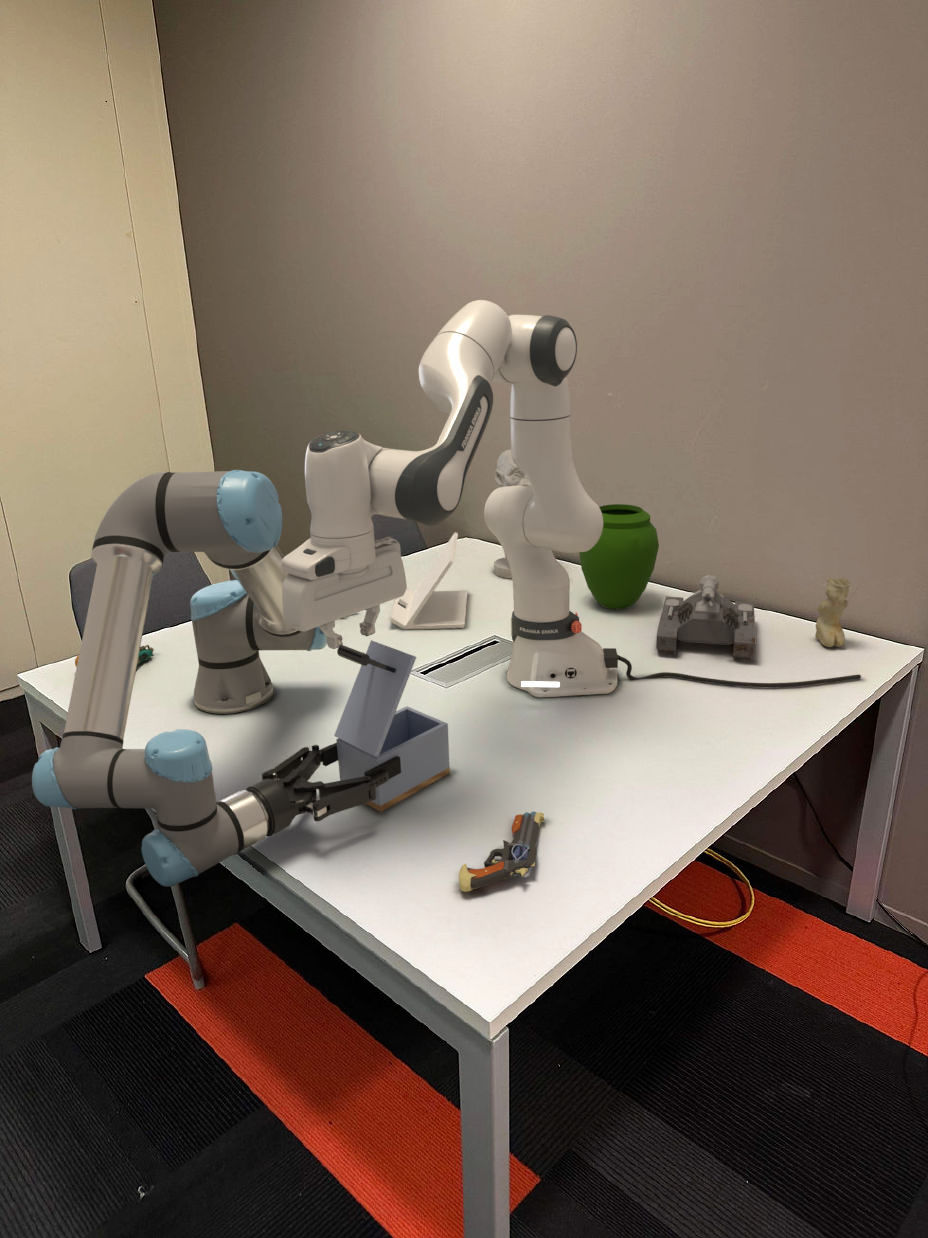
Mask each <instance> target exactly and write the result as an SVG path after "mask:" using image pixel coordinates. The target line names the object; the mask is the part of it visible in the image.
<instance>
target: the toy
mask: <svg viewBox="0 0 928 1238" xmlns="http://www.w3.org/2000/svg"><path fill="white" fill-rule="evenodd" d="M719 586H720V581H719V579H718V578H717V576H715V575H713V574H706V575H704V576H703V577H702V578H700V580H699V588H700V589H699V590H697V591H695V592H693V593H692V595H690V596H689V597H688V598H686V599H684V597H680V596H679V597H678V596H665V598H664V602H663V606H662V610H661V614H660V618H659V623H658V627H657V631H656V643H655V644H656V645H655V648H656V650H657V653H661V654H673V655H674V654H676V652H677V646H678V641H681V642H684V643H695V644H707V645H718V646H719V645H720V646H721V645H722V646H729V645H732V658H736V659H747V660H752V658H754V655H755V649H756V619H755V602H754V601H753V602H751V601H739V600H738V601H737V600H735V601H734V602H733V601H732V600H730V599H729V598H728V597H727V596H726V595H725V594H724V593H721V592H720V591H719V590H718V589H719Z"/></svg>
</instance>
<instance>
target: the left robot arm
mask: <svg viewBox="0 0 928 1238" xmlns="http://www.w3.org/2000/svg"><path fill="white" fill-rule="evenodd" d="M279 500H280V496H279V494H278V491H277V488H276V487H275V485H274V483H273V482H272V481H271V480H270V479H269V477H268V476H266V475H265V474H263V473H261V472H258V471H249V470H248V471H246V470H242V469H233V470H221V471H178V472H175V471H174V472H171V471H162V472H155V473H151V474H147V475H145V476H143V477H141V478H139V479H137V480H136V481H134V482H133V483H131V484H130V485H129V486H128V487H126V489H124V490H123V491H122V492H121V493H120V494H119V495H118V496H117V498H116V499H114V501H113V502H112V504H111V505H110V506H109V507H108V508H107V511H106V512H105V514H104V516H103V518H102V519H101V521H100V523H99V526H98V528H97V530H96V533H95V535H94V539H93V544H92V548H91V554H90V556H91V559H92V560H93V562H94V563H95V565H96V569H95V574H94V578H93V585H92V589H91V594H90V599H89V603H88V609H87V614H86V619H85V623H84V628H83V629H84V630H83V634H82V638H81V644H80V648H79V649H80V650H79V653H78V655H79V659H78V664H77V667H76V669H75V674H74V678H73V684H72V689H71V695H70V700H69V703H68V704H69V705H68V708H67V715H66V719H65V723H64V730H63V734H62V737H61V742H60V745H59V746H60V747H54V748H48V749H47V750H44V751H43V752H42V753H41V754H40V755H39V756H38V759H37V762H35V764H34V766H33V769H32V773H31V786H32V791H33V794H34V797H35V798H36V800H37V801H38V802H39V803H41V804H42V805H44V807H50V808H51V807H52V808H67V809H71V810H79V809H152V810H154V811H155V815H156V820H157V828H155V829H154V830H152V831H151V832H150V833H148V834H146V835H145V836H144V837H143V838H142V841H141V848H140V849H141V854H142V858H143V862H144V864H145V867H146V868H147V871H148V872H149V875H150V876H151V877H152V878H153V879H154V881H156V882H157V883H158V884H159V885H161V886H163V887H167V888H169V887H173V886H174V887H175V886H176V885H178V884H180V883H181V884H182V883H183V882H184V881H187V880H189V879H191V878H196V877H198V876H199V875H201V874H202V873H205V871H207V870H209V869H211V868H212V867H214V866H216V865H217V864H219V863H221V862H224V861H225V860H227V859H228V858H230V857H231V856H233V855H234V856H235V855H237V854H238V853H241V852H242V851H244V850H247V848H251V846H254V845H255V844H258V843H259V842H261V841H263V840H265V839H266V838H267V837H272V836H273V835H276V834H277V833H279V832H281V831H283V830H285V829H287V828H288V827H290V826H291V824H292V822H293V821H294V819H295V818H296V817H297V816H299V815H304V814H307V813H309V814H311V815H312V816H313V820H314V822H321V821H322V820H324V819H327V818H328V817H329V816H331V815H334V814H337V813H340V812H343V811H347V810H349V809H352V808H355V807H358V806H362V805H364V804H365V803H367V802H370V801H373V800H375V799H376V787H378V786H380V785H382V784H384V783H385V782H387V781H388V780H389V779H390V778H392V777H394V776H396V775H398V774H400V773H401V762H400V757H399V756H396V757H394V758H392V759H390V760H388V761H386V762H384V763H382V764H380V765H378V766H376V767H374V768H372V769H370V770H368V771H366V772H364V775H365V776H363V777H358V778H352V779H347V780H341V781H340V780H335V781H331V782H326V783H324V782H323V781H321V780H319V781H315V782H312V781H309V780H310V779H311V777H313V775H314V774H315V773H316V772H317V770H318V769H319V768H320V767H321V765H322V766H324V767H327V766H330V765H332V764H334V763H336V762H338V752H337V742H334V743H332V744H329V745H327V746H325V747H323V748H320V746H319V744H313V745H311V750H310V747H308V746H304V747H302V748H300V749H299V750H297V751H296V752H295V753H293V754H292V755H290V756H289V757H288V758H286V759H285V760H283V761H282V762H280V763H278V765H276V766H275V767H273V768H271V769H269V770H266V771H264V772H262V773H261V779H262V780H260V781H259V782H256V783H254V784H252V785H250V786H248V787H246V788H245V789H240V790H238V791H236V792H234V793H232V794H230V795H228V796H226V797H224V798H222V799H220V800H218V801H217V797H216V790H215V784H214V783H215V782H214V776H213V775H214V774H213V763H212V761H211V758H210V754H209V750H208V745H207V741H206V739H205V737H204V736H203V735H202V734H201V733H199V732H198V731H195V730H192V729H187V728H186V729H185V728H181V729H180V728H178V729H175V730H173V731H172V730H171V731H163V732H161V733H159V734H157V735H154V736H153V737H151V738H150V740H149V741H147V743H146V745H145V748H123V747H124V739H125V734H126V727H127V723H128V717H129V711H130V707H131V706H130V705H131V700H132V695H133V689H134V684H135V678H136V672H137V666H138V665H137V662H138V657H139V651H140V647H141V646H142V645H141V644H142V640H143V633H144V628H145V623H146V617H147V611H148V607H149V601H150V595H151V591H152V584H153V579H154V578H153V577H154V575H156V574H158V573H159V572H161V570H162V569H163V565H164V559H165V557H166V555H167V554H169V553H204V554H205V555H206V557H207V558H208V559H209V560H210V562H211V563H213V564H214V565H215V566H217V567H220V568H222V569H225V570H229V571H230V572H231V574H232V576H233V577H234V578H235V579H233V580H231V579H230V580H226V581H221V582H220V581H219V582H217V583H214V584H210V585H207V586H205V587H203V588H201V589H199V590H198V591H196V592H195V593H194V594H193V595H192V597H191V598H190V603H189V605H190V606H189V607H190V620H191V625H192V631H193V637H194V644H195V649H196V655H197V662H198V669H197V673H196V679H195V683H194V684H195V685H194V688H193V689H194V690H193V700H194V705H195V706H196V708H197V709H199V710H200V711H203V712H206V713H210V714H217V715H225V714H237V713H242V712H247V711H249V710H253V709H255V708H258V707H260V706H262V705H264V704H265V703H267V702H268V701H270V699H271V698H272V697H273V695H274V685H273V682H272V679H271V677H270V675H269V673H268V671H267V669H266V667H265V665H264V663H263V661H262V658H261V657H260V651H306V652H311V651H319V650H323V649H324V648H326V646H328V645H327V636H326V635H325V634H324V633H323V632H322V630H321V629H320V628H319V626H318V627H316V628H313V629H310V630H307V631H304V632H302V631H299V630H296V629H294V628H291V627H290V626H289V625H288V624H287V623H286V622H285V620H284V614H283V604H282V585H283V581H284V579H285V577H286V576H287V575H288V574H289V573H287V572H285V571H283V569H282V559H283V558H284V557H285V555H284V554H283V552H282V551H281V549H280V547H279V545H278V544H279V542H280V540H281V535H282V531H283V511H282V505H281V504H280V502H279ZM317 790H318V793H317Z"/></svg>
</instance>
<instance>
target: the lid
mask: <svg viewBox="0 0 928 1238" xmlns="http://www.w3.org/2000/svg"><path fill="white" fill-rule="evenodd" d="M337 656H339V657H341V658H343V659H345V660H347V661H351V662H353V663H355V664H358V665H360V667H359V671H358V673H357V675H356V678H355V680H354V682H353V683H354V684H353V686H352V688H351V690H350V693H349V696H348V699H347V701H346V704H345V707H344V709H343V711H342V714H341V717H340V720H339V722H338V725H337V726H336V729H335V732H334V737H335V738H336V739H338V738H339V739H341V740H343V741H345V742H347V743H349V744H351V745H353V746H355V747H357V748H359V749H361V750H363V751H365V752H367V753H369V754H371V755H373V756H376V757H379V754H380V751H381V749H382V746H383V744H384V741H385V738H386V736H387V733H388V730H389V728H390V725H391V723H392V720H393V717H394V715H395V712H396V711H398V707H399V705H400V701H401V699H402V696H403V693H404V691H405V689H406V686H407V683H408V680H409V678H410V675H411V673H412V670H413V668H414V665H415V662H416V659H417V656H415V655H413V654H409V653H407V652H404V651H403V650H399V649H396V648H394V647H391V646H388V645H386V644H382V643H381V642H378V641H375V640H370V642H369V645H368V646H367V650H366V652H365V653H364V652H362V651H359V650H357V649H354V648H352V647H349V646H347V645H344V644H343V645H342V646H341V647H338V648H337Z"/></svg>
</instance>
